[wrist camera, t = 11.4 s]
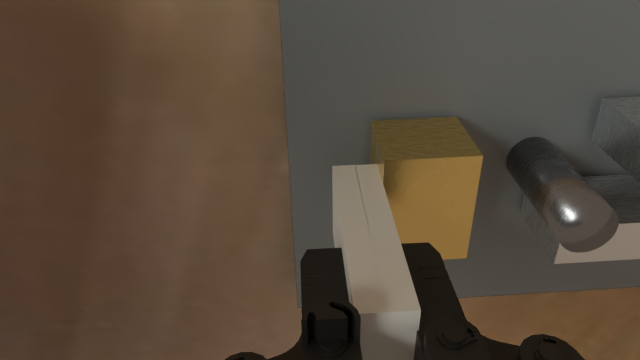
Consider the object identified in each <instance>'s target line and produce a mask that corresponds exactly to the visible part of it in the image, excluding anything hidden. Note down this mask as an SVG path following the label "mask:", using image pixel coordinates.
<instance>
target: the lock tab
mask: <svg viewBox="0 0 640 360" xmlns="http://www.w3.org/2000/svg"><path fill="white" fill-rule="evenodd" d="M482 161H483V155H482V153H481V152H480V150H479V149H478V147H477V146H476V144H475V143H474V141H473V140H472V138H471V137H470V135H469V134H468V132H467V131H466V130H465V128H464V127H463V125H462V124H461V122H460V121H459V119H458V118H457V117H439V118H417V119H396V120H374V121H371V129H370V160H369V164H377V165H378V169H379V172H380V175H381V178H382V182H383V185H384V188H385V192H386V195H387V198H388V202H389V205H390V208H391V212H392V215H393V218H394V222H395V225H396V228H397V232H398V235H399V238H400V242H401V244H402V243H423V242H429V243H430V244H431V245H432V246H433V247H434V248H435V249H436V250H437V251H438V252H439V253H440V254H441V257H442V259H443V260H445V259H463V258H467V252H468V246H469V240H470V234H471V228H472V222H473V216H474V209H475V203H476V197H477V191H478V185H479V179H480V173H481V167H482Z"/></svg>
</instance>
